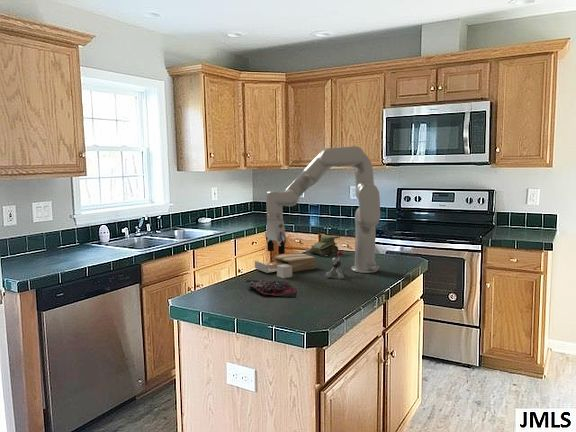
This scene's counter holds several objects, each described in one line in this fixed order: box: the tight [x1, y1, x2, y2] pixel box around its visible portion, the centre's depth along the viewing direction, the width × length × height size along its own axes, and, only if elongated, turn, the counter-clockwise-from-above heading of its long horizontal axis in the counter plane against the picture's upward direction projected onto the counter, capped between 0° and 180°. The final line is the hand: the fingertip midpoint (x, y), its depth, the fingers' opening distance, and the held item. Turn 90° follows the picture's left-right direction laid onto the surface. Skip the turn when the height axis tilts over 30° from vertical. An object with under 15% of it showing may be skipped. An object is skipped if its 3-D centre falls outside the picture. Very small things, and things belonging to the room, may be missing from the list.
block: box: [276, 264, 293, 279], centre depth 221 cm, size 5×5×5 cm
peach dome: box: [266, 261, 282, 269], centre depth 232 cm, size 7×7×2 cm
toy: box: [309, 235, 341, 258], centre depth 273 cm, size 10×18×10 cm, turn 130°
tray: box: [254, 260, 284, 274], centre depth 232 cm, size 11×14×4 cm
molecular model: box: [325, 250, 345, 280], centre depth 223 cm, size 8×12×11 cm
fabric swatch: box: [245, 279, 297, 298], centre depth 199 cm, size 20×21×3 cm
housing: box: [273, 252, 317, 273], centre depth 239 cm, size 14×15×5 cm
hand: (276, 252), depth 231 cm, fingers open, 9 cm apart
